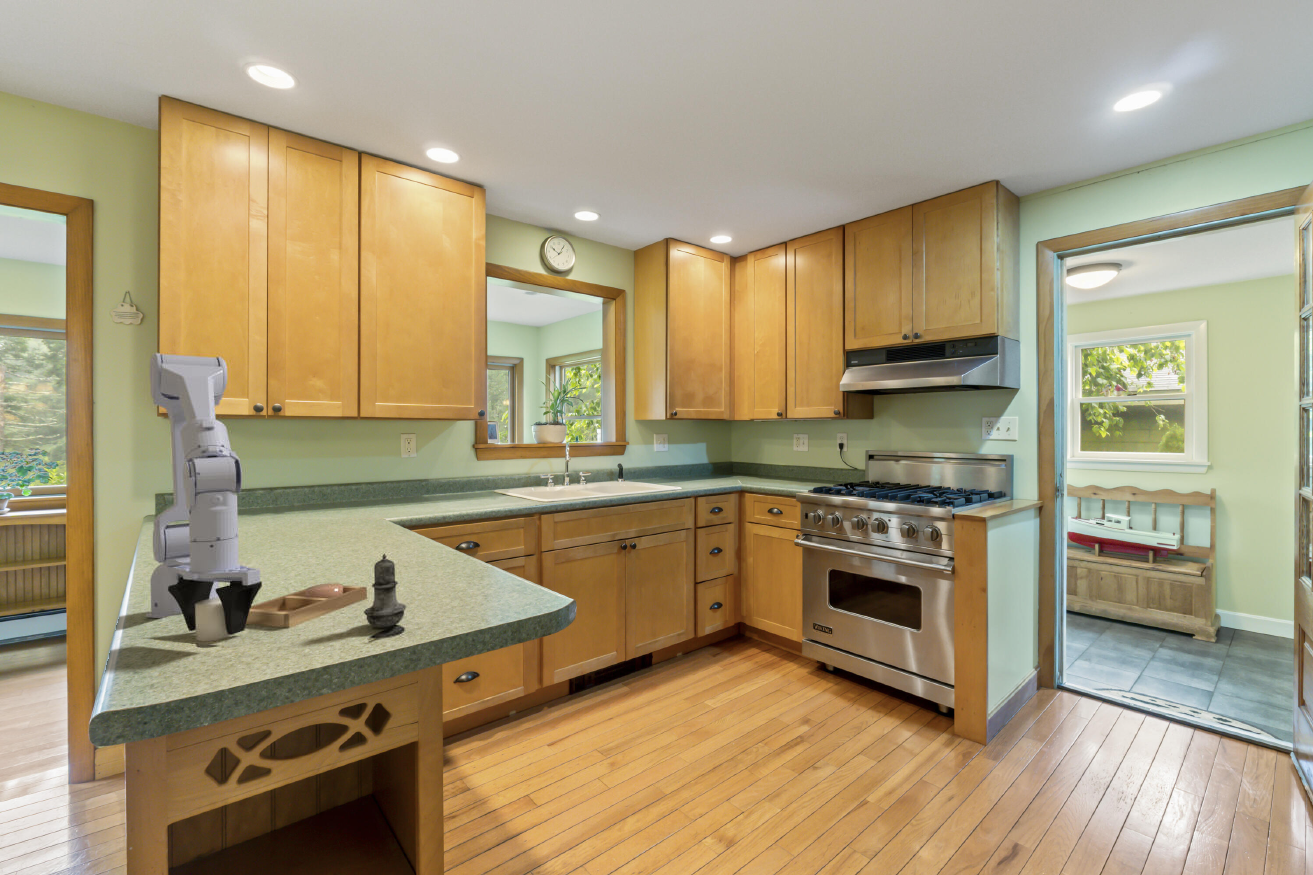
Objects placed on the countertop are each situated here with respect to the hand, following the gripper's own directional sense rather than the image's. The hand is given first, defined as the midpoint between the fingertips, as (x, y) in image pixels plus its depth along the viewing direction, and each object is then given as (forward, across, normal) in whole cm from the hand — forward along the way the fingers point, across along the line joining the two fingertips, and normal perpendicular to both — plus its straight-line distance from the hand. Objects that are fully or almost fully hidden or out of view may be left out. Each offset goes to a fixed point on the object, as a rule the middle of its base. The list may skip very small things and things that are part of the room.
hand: (216, 630), depth 87 cm
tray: (+2, +3, +13) cm, 13 cm away
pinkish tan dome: (+1, +3, +17) cm, 17 cm away
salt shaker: (+2, +22, +9) cm, 24 cm away
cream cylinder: (+2, 0, 0) cm, 2 cm away
